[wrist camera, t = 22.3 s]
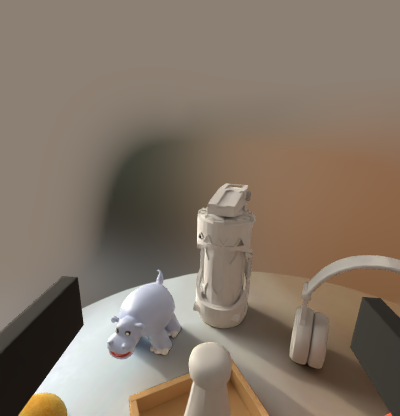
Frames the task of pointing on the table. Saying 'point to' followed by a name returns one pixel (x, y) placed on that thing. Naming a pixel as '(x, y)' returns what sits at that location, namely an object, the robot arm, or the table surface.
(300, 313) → the headphones
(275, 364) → the table surface
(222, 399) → the salt shaker
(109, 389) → the table surface
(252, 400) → the pale tray
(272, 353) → the table surface
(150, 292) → the hippopotamus toy
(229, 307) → the lantern
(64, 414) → the bread roll
